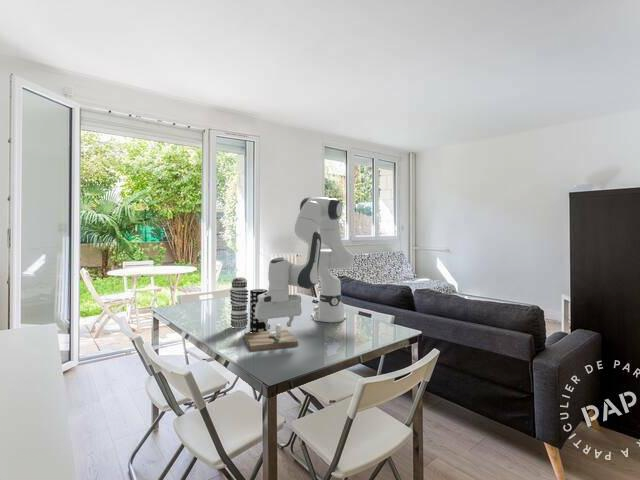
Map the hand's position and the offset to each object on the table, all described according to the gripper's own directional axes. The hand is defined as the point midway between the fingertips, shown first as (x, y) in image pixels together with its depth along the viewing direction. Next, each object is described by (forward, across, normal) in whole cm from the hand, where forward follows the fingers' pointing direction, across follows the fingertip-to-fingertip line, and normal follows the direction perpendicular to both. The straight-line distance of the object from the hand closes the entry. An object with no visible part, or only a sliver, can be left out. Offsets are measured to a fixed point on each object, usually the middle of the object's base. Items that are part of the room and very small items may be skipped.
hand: (278, 327), depth 151 cm
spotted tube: (+8, +3, -23) cm, 24 cm away
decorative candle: (+8, +10, -34) cm, 37 cm away
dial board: (+7, +2, -5) cm, 9 cm away
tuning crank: (+5, 0, -3) cm, 6 cm away
